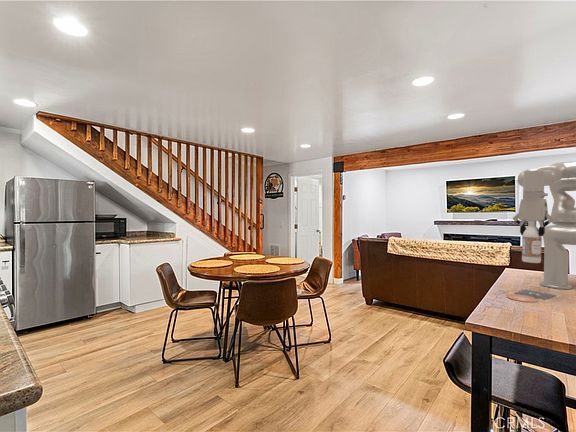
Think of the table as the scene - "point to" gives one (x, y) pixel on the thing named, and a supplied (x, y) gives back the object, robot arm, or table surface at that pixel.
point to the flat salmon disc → (522, 298)
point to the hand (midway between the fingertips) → (532, 235)
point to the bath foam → (531, 244)
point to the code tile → (535, 294)
